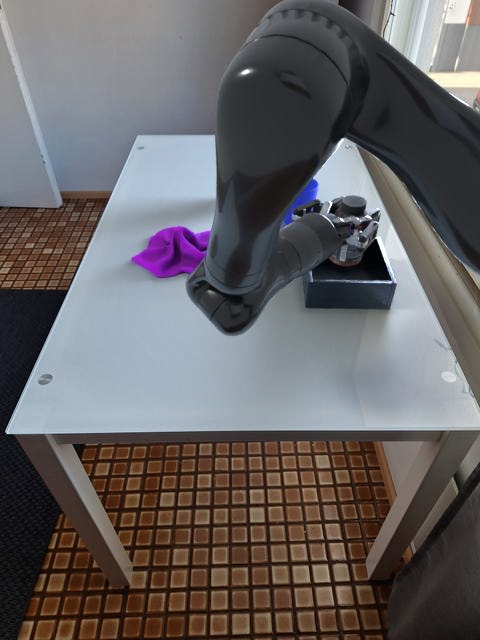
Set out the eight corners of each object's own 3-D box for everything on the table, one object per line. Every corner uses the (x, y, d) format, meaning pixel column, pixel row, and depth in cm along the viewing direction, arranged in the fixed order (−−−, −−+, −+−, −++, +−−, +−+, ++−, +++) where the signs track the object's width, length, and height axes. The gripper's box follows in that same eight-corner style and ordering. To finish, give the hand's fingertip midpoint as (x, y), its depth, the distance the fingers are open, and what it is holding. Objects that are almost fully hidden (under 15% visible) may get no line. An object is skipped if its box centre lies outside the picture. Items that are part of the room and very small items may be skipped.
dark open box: (374, 261, 99) (380, 236, 95) (390, 309, 87) (397, 283, 83) (299, 260, 99) (302, 235, 95) (305, 308, 88) (308, 282, 84)
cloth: (123, 274, 96) (118, 248, 91) (149, 228, 109) (146, 203, 105) (232, 284, 93) (232, 257, 89) (245, 235, 107) (245, 210, 103)
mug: (268, 236, 106) (270, 195, 100) (285, 212, 115) (288, 173, 108) (304, 244, 104) (308, 202, 97) (318, 218, 112) (323, 178, 106)
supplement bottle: (323, 250, 86) (331, 192, 79) (355, 248, 87) (366, 190, 80) (332, 269, 82) (341, 209, 75) (365, 266, 82) (378, 207, 75)
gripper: (345, 242, 64) (404, 200, 74) (264, 208, 72) (327, 174, 81) (337, 286, 69) (394, 242, 79) (262, 250, 77) (322, 213, 86)
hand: (360, 207), depth 80 cm, fingers closed on supplement bottle, 6 cm apart
